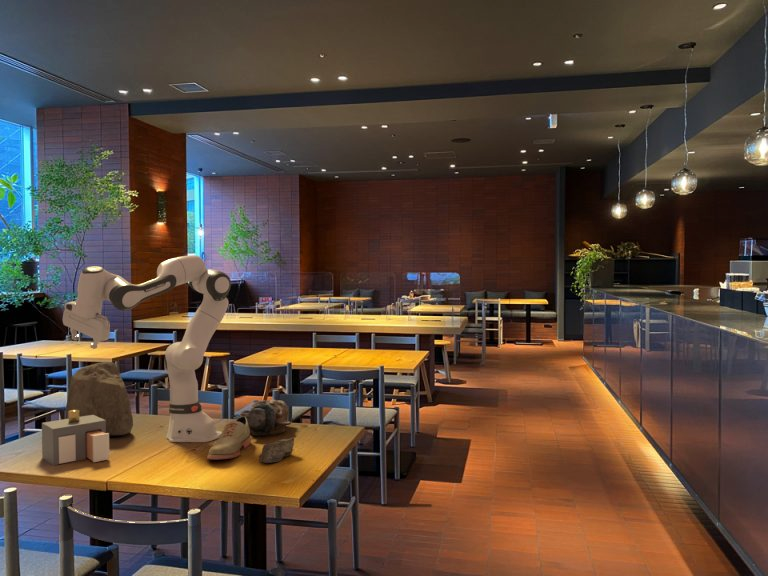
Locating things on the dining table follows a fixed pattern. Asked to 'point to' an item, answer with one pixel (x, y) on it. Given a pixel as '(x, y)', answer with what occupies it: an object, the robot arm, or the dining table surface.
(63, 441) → the thin beige tile
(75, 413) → the brass dial
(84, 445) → the grey cabinet
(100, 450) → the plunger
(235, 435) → the oxford shoe
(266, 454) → the rock
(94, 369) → the stone
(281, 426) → the sculpture
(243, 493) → the dining table surface
